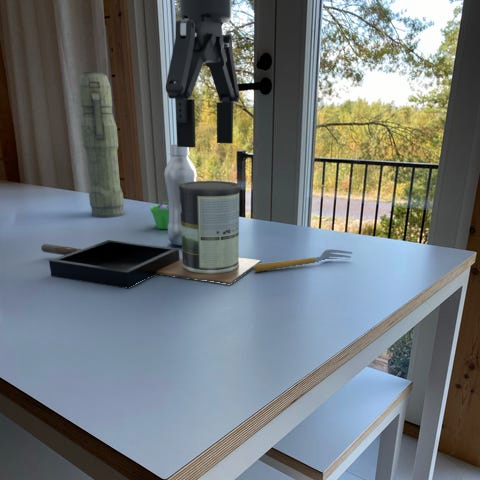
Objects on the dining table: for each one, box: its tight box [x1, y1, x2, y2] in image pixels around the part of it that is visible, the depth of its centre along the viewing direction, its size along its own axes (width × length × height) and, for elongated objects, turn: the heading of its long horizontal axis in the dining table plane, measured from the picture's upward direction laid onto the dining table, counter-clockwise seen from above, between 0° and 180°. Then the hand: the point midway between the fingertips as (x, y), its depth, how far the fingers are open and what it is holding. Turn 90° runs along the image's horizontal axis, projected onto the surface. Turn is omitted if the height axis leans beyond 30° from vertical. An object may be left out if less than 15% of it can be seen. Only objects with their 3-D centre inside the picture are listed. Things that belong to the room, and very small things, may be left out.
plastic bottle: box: [163, 144, 197, 247], centre depth 97 cm, size 6×7×20 cm
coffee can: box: [179, 180, 241, 274], centre depth 82 cm, size 10×10×14 cm
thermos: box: [78, 71, 125, 218], centre depth 125 cm, size 9×12×35 cm
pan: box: [40, 239, 180, 289], centre depth 86 cm, size 25×16×3 cm, turn 67°
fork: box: [252, 248, 353, 273], centre depth 87 cm, size 2×2×20 cm
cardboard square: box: [156, 257, 262, 284], centre depth 85 cm, size 14×14×1 cm
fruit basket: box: [149, 192, 169, 230], centre depth 115 cm, size 11×9×11 cm
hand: (207, 145), depth 77 cm, fingers open, 13 cm apart
